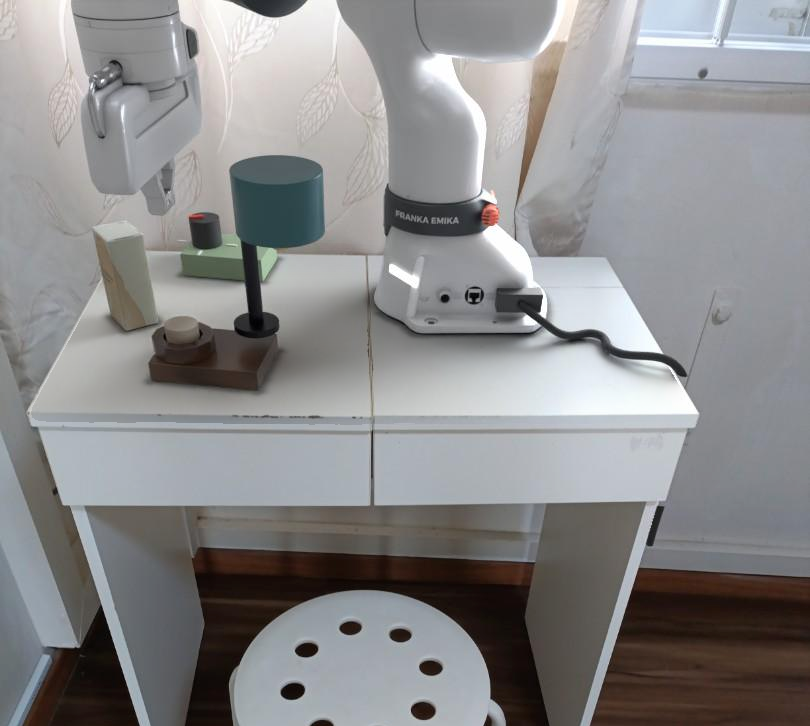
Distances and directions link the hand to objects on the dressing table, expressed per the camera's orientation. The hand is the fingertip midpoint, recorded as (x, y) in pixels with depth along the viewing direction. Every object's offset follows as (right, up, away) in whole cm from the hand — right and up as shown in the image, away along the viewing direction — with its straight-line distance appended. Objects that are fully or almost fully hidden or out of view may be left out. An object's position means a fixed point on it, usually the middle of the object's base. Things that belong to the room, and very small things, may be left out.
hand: (162, 210), depth 79 cm
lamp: (+10, -9, +9) cm, 17 cm away
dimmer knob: (-3, +8, +29) cm, 30 cm away
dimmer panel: (0, +5, +31) cm, 32 cm away
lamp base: (+3, -13, +11) cm, 17 cm away
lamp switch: (0, -11, +8) cm, 13 cm away
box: (-9, -6, +19) cm, 22 cm away
